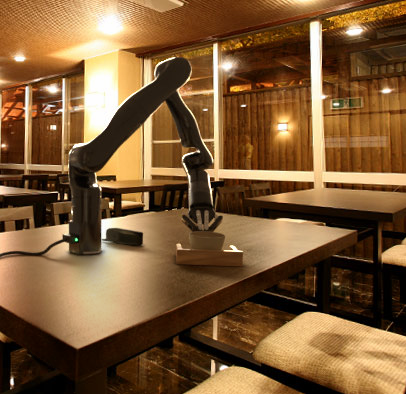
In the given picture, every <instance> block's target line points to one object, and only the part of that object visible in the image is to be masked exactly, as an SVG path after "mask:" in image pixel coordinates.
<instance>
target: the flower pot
mask: <svg viewBox="0 0 406 394" xmlns="http://www.w3.org/2000/svg"><path fill="white" fill-rule="evenodd" d="M188 236H189V237H188V239H189V243H190V247H191V249H201V250H223V246H224V244H225V239H226V234H224V233H221V232H218V231H217V232H216V231H213V232H208V231H197V232H192V231H190V232H188Z"/></svg>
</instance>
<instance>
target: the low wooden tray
mask: <svg viewBox="0 0 406 394" xmlns="http://www.w3.org/2000/svg"><path fill="white" fill-rule="evenodd" d="M175 256H176V264H177V265H190V266H191V265H192V266H193V265H195V266H216V267H217V266H218V267H219V266H221V267H243V266H244V265H243V263H244V251H243V250H238V249H237V247H236V246H235V245H229V250H227V249H221V250H201V249H192V248H182V245H181V243H176V245H175Z"/></svg>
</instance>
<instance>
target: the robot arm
mask: <svg viewBox="0 0 406 394" xmlns="http://www.w3.org/2000/svg"><path fill="white" fill-rule="evenodd" d="M191 76H192V65H191V62H190V60H188V59H187V58H186V57H182V56H175V57H171V58H168V59H166V60H164V61H161V62H159V63H158V64H157V65H156V66H155V69H154V79H153V80H152V81H151V82H150V83H148V84H146V85H145V86H143V87H141V88H140V89H138V90H137V91H136V92H134V93H132V94H131V95H130V96H128V97H127V98H126V99H125V100H124V101H123V102H122V103H121V104H120V105H119V106H118V107H117V108H116V109H115V111H114V112H113V114H112V115H111V117H110V120H109V122H108V123H107V124H106V127H105V128H103V130H102V131H101V132H100V133H99V134H97V135H96V136H95V137H94V138H93V139H91V140H90V141H88V142H84V143H78V144H75V145H74V146H73V147H72V148H71V149H70V151H69V153H68V160H67V167H68V168H67V170H68V185H69V188H70V196H71V197H70V199H71V204H70V205H71V208H70V211H71V213H70V214H71V216H70V217H71V220H69V221H68V233H62V239H59V240H57V241H54V242H52V243H51V244H49V245H48V246H47V247H46V248H45V249H44V250H42V251H37V252H33V251H32V252H30V251H25V250H23V251H22V250H10V251H5V252H1V253H0V258H1V257H5V256H11V255H22V256H42V255H43V256H44V255H45V254H47V253H48V252H49V251H50V250H51V249H52V248H54V247H56V246H58V245H59V244H63V243H66V244H68V252H70V253H73V254H76V255H78V256H83V255H96V254H100V253H102V251H103V248H102V195H103V194H102V187H101V186H100V184H99V183H98V180H97V173H99V172H100V171H101V170H102V169H104V168H105V166H106V165H107V164H108V163H109V162H110V160H111V159H112V158H113V156H114V155H115V154H116V152H117V151H118V150H119V148H121V146H123V144H124V143H126V142H127V141H128V140H129V139H130V138H131V137H132V136H133V135H134V134H135V133H136V132H137V131H138V130H139V129H140V128H141V127H142V126H143V125H144V124H146V122H147V121H148V120H149V119H150V117H152V115H154V113H155V112H157V110H159V108H160V107H161V106H162V105H163V104H164V102H165V105H166V106H167V108H168V110H169V112H170V115H171V117H172V119H173V122H174V125H175V128H176V131H177V136H178V138H179V142H180V145H181V147H182V148H184V149H187V148H190V149H192V148H194V149H196V151H194V152H190V153H186V154H184V155H183V156H182V157H181V166H182V168H183V171H184V172H185V175H186V177H187V187H188V188H187V189H188V190H187V199H188V211H187V213H186V214H182V215H181V222H182V223H183V224H184V225H185V226H186V228H188V229H189V230H190V232H197V231H208V232H215V230H216V229H217V228H218V227H219V226H220V225H221V224H222V222H223V217H224V216H223V215H221V214H219V215H218V214H217V213H216V211H215V209H214V203H213V193H212V188H211V182H210V175H209V173H208V171H206V170H210V169H211V168H212V167H213V164H214V159H213V156H212V154H211V152H210V151H209V149H208V148H207V146H206V144H205V143H204V141H203V138H202V136H201V133H200V129H199V126H198V122H197V119H196V118H195V116H194V114H193V113H192V111H191V110H190V109H189V108H188V106H187V105H186V103H185V102H184V100H183V99H182V97H181V94H180V91H179V90H180V88H182V87H183V86H184V85H185V84H187V82H188V81H189V80H190V77H191ZM212 221H213V222H212ZM211 222H212V223H211ZM210 223H211V224H210ZM209 224H210V225H209Z"/></svg>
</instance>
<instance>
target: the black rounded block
mask: <svg viewBox="0 0 406 394" xmlns="http://www.w3.org/2000/svg"><path fill="white" fill-rule="evenodd" d="M101 242H108V243H109V242H110V243H116V244H122V245H127V246H133V247H134V246H135V247H137V246H138V247H139V246H142V245H143V244H144V232H143V231H139V230H132V229H127V228H120V227H109V228H106V230H105V238H101Z"/></svg>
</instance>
